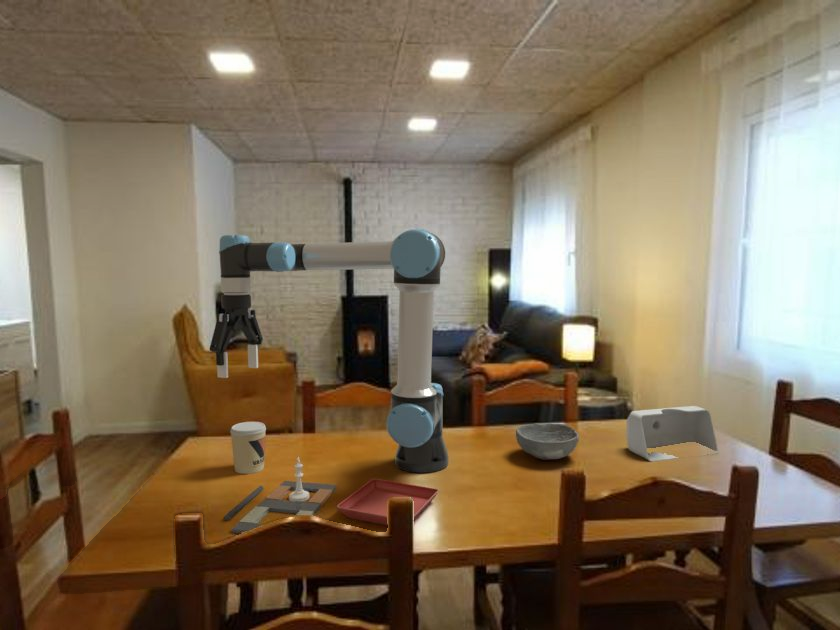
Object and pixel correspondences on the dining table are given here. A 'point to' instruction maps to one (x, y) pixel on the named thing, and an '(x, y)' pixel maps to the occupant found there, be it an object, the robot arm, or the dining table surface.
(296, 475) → the chess piece
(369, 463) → the dining table surface
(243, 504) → the rod
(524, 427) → the bowl
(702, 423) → the grey plastic housing
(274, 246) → the robot arm
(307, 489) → the panel
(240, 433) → the coffee cup
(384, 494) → the plant saucer
